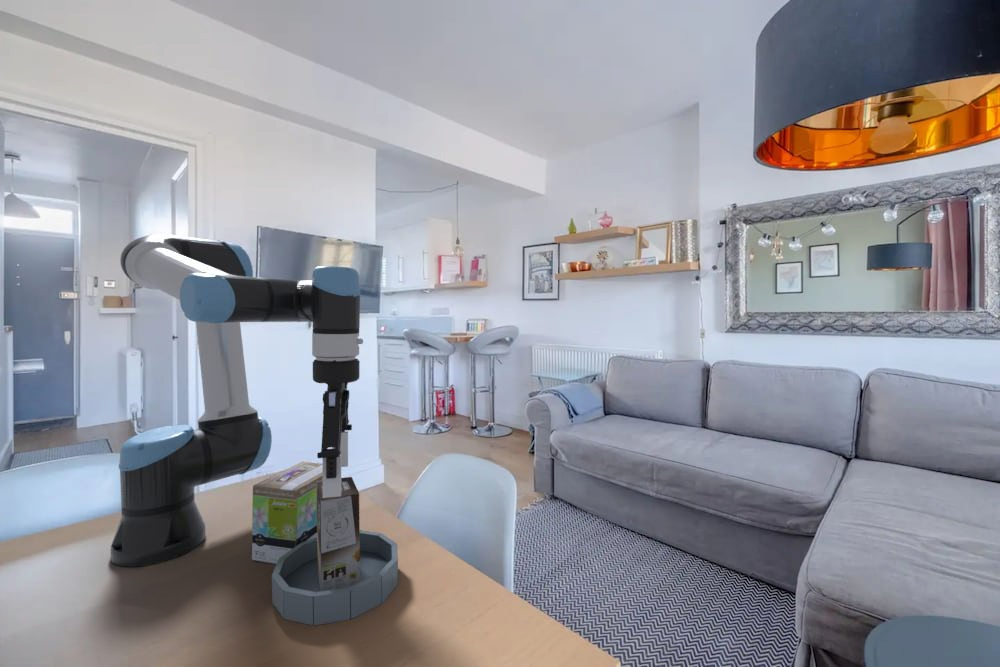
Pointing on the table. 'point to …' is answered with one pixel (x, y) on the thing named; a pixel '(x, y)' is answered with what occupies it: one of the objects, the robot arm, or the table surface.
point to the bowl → (311, 606)
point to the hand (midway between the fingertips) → (336, 480)
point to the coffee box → (338, 537)
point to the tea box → (285, 511)
